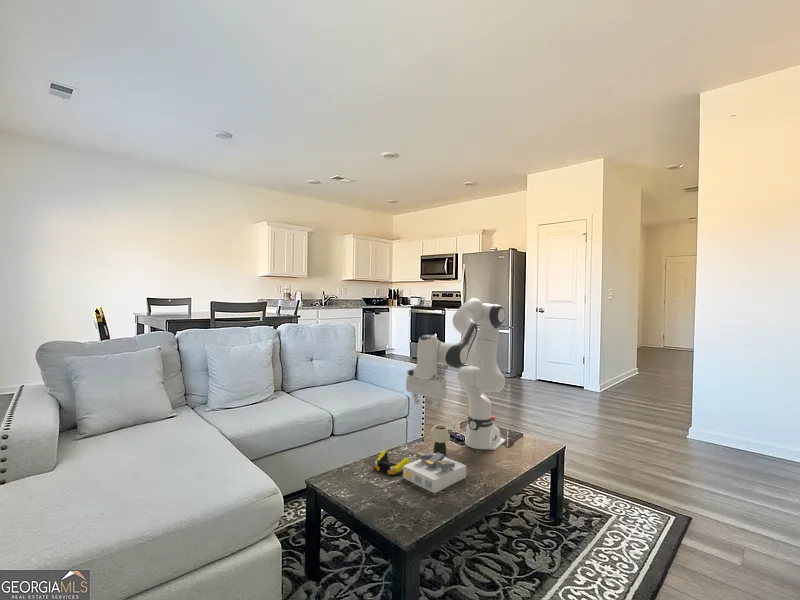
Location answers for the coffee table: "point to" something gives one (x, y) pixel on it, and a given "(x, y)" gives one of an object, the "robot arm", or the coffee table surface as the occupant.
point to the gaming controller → (389, 464)
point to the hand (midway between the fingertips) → (424, 406)
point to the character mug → (440, 438)
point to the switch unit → (433, 474)
